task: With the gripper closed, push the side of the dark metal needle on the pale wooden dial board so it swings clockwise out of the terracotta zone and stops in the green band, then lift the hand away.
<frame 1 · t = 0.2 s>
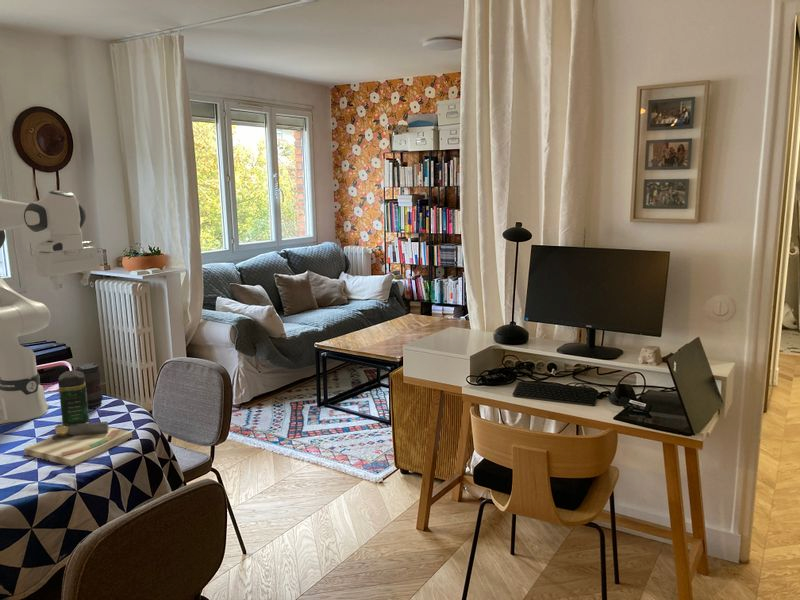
hand: (72, 287, 198), 47 cm above the table, tool pointing down, fingers open, 8 cm apart
camera lens: (91, 405, 228), on the table
tuning needle: (82, 429, 196), point 4 cm above the table, hinge at 35.0°
dial board: (80, 445, 193), on the table
coffee jar: (76, 426, 209), on the table
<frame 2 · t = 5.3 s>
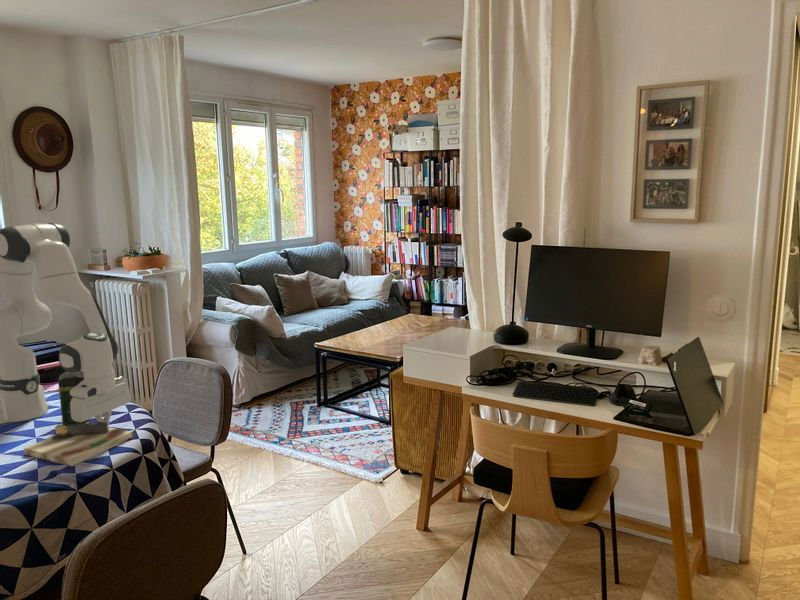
hand: (104, 425, 199), 4 cm above the table, tool pointing down, fingers closed
tuning needle: (82, 429, 196), point 4 cm above the table, hinge at 34.9°, touching gripper
everything else where it was.
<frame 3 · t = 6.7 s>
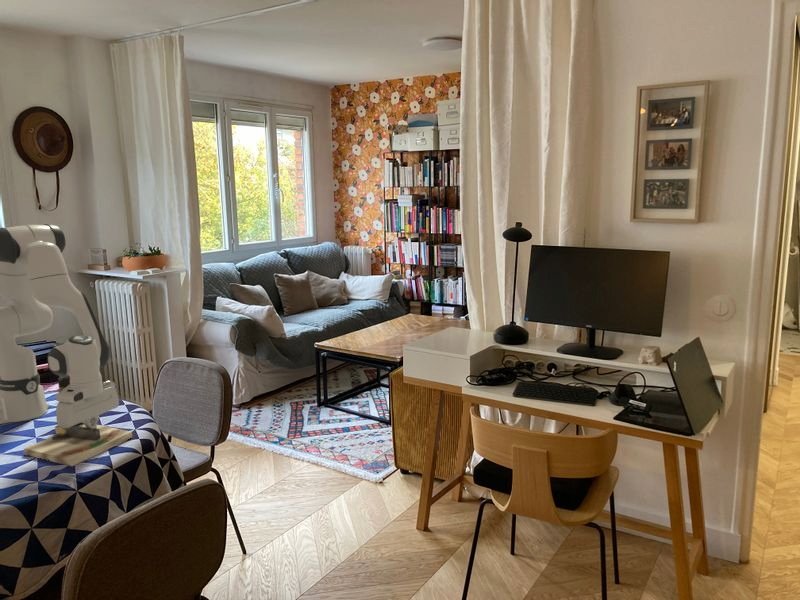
hand: (91, 431, 194), 4 cm above the table, tool pointing down, fingers closed
tuning needle: (77, 432, 193), point 4 cm above the table, hinge at 8.6°, touching gripper
everything else where it was.
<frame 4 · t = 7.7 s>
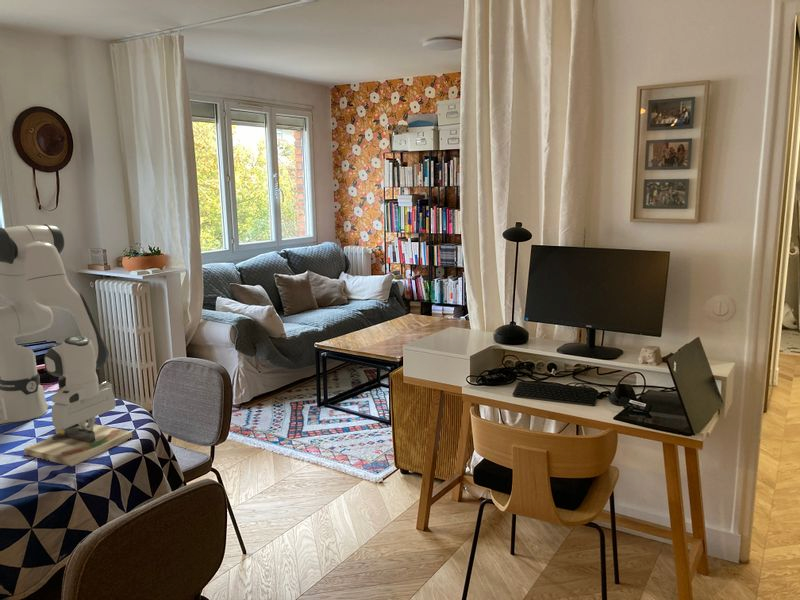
hand: (88, 432, 193), 4 cm above the table, tool pointing down, fingers closed
tuning needle: (75, 433, 193), point 4 cm above the table, hinge at -0.6°, touching gripper
everything else where it was.
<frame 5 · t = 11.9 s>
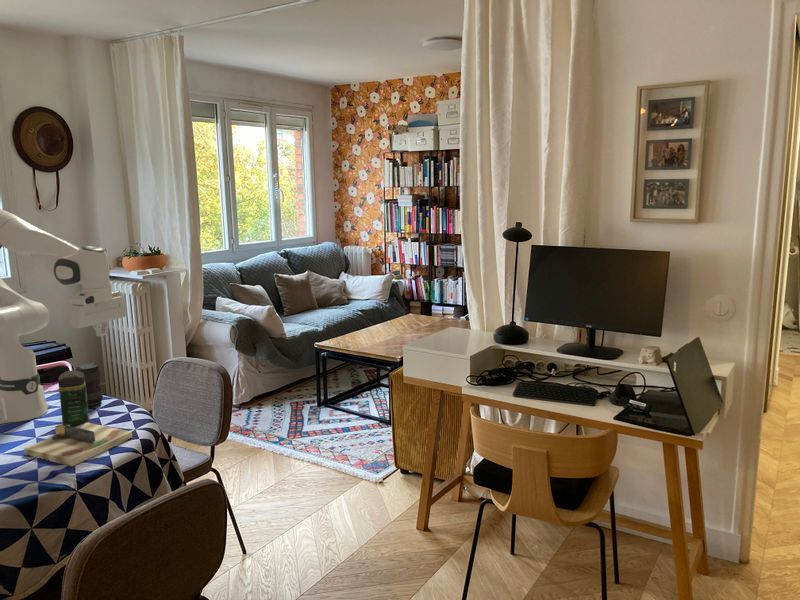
hand: (101, 335, 210), 29 cm above the table, tool pointing down, fingers closed
tuning needle: (75, 433, 193), point 4 cm above the table, hinge at -1.0°
everything else where it was.
at the end: tuning needle at -1° (first picture: +35°); coffee jar moved 0.2 cm from its start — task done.
